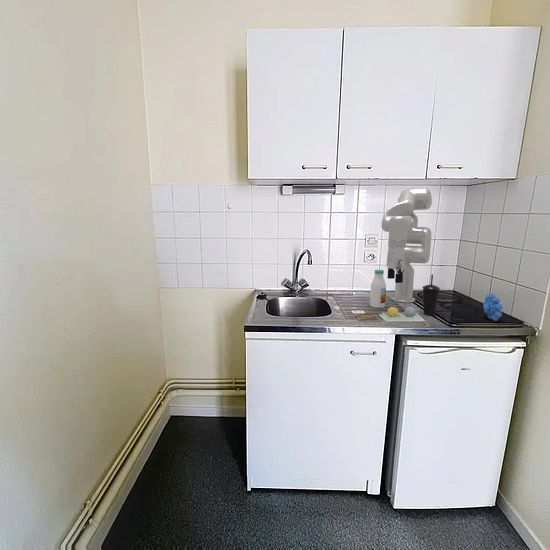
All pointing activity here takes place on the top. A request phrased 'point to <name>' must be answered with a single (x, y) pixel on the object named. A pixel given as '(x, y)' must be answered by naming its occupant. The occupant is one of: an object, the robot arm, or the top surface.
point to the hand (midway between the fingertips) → (394, 280)
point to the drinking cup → (430, 298)
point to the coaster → (367, 317)
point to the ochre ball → (393, 312)
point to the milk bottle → (378, 290)
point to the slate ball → (410, 312)
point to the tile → (358, 312)
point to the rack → (401, 318)
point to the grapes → (492, 307)
